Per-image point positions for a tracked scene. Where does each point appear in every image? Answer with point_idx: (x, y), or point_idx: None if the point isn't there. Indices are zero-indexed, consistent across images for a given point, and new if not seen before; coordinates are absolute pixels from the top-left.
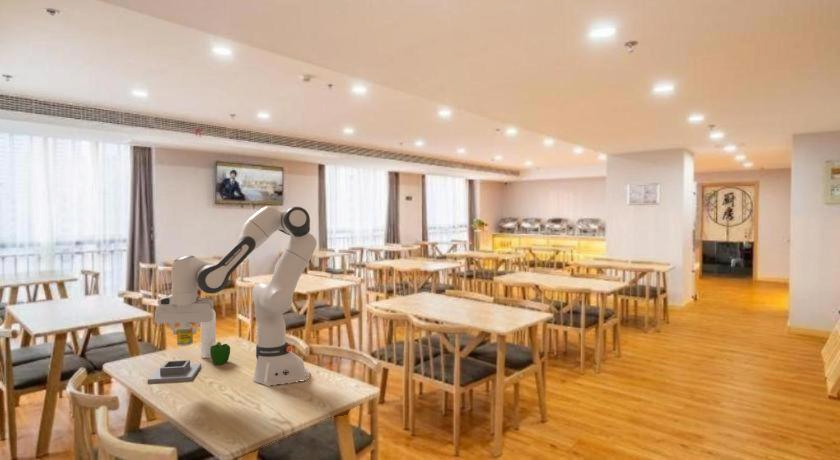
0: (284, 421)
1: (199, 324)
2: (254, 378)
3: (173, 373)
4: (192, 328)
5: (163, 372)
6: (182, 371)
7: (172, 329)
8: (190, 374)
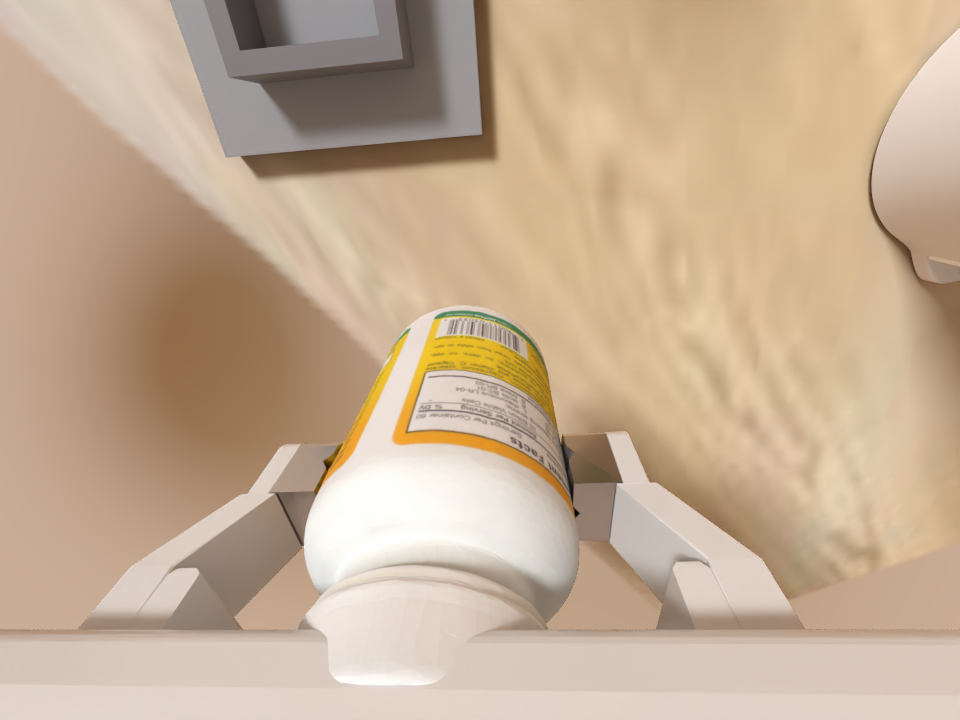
0: (863, 550)
1: (737, 549)
2: (886, 186)
3: (339, 73)
4: (574, 516)
5: (269, 79)
6: (396, 65)
7: (267, 558)
8: (459, 77)
